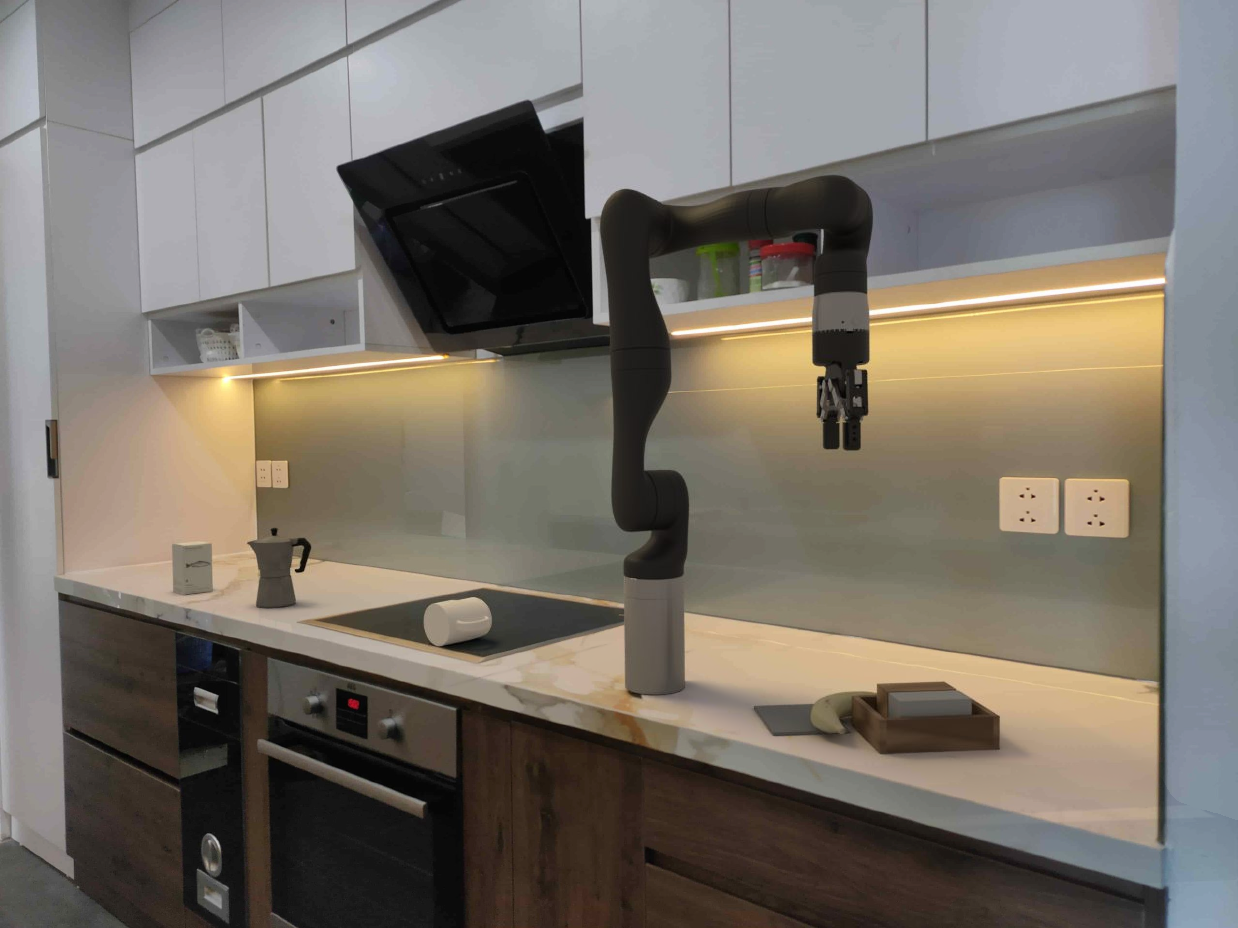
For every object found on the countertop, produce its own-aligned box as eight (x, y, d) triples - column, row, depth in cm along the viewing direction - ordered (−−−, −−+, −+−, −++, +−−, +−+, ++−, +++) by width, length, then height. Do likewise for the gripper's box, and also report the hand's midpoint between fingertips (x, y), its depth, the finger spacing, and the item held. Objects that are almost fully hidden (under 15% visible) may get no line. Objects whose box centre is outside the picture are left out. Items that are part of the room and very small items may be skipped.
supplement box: (183, 595, 217) (182, 545, 217) (172, 592, 222) (171, 543, 222) (213, 591, 222) (212, 542, 222) (202, 588, 228) (201, 540, 227)
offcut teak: (876, 729, 113) (876, 683, 113) (944, 726, 113) (944, 681, 113) (887, 738, 109) (887, 691, 109) (956, 735, 110) (956, 689, 110)
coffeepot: (238, 607, 200) (236, 530, 200) (259, 600, 210) (257, 525, 209) (303, 608, 199) (301, 529, 198) (320, 600, 208) (319, 525, 208)
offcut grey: (888, 740, 109) (888, 692, 109) (958, 737, 109) (958, 690, 109) (899, 750, 105) (899, 701, 105) (971, 747, 106) (971, 698, 106)
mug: (421, 642, 164) (420, 600, 164) (460, 633, 171) (460, 593, 171) (461, 652, 156) (460, 608, 156) (500, 642, 163) (500, 600, 163)
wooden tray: (851, 725, 114) (851, 695, 114) (961, 721, 115) (961, 691, 115) (880, 753, 104) (879, 720, 104) (999, 748, 105) (999, 716, 105)
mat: (753, 708, 122) (753, 705, 121) (823, 706, 122) (823, 703, 122) (773, 735, 111) (773, 732, 111) (850, 732, 111) (849, 729, 111)
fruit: (856, 675, 122) (851, 697, 122) (794, 702, 111) (789, 726, 112) (902, 698, 117) (897, 720, 117) (842, 728, 106) (837, 752, 107)
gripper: (798, 336, 124) (799, 449, 125) (829, 323, 110) (830, 451, 110) (850, 336, 125) (850, 449, 125) (887, 322, 110) (888, 450, 111)
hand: (841, 449), depth 118 cm, fingers open, 8 cm apart
